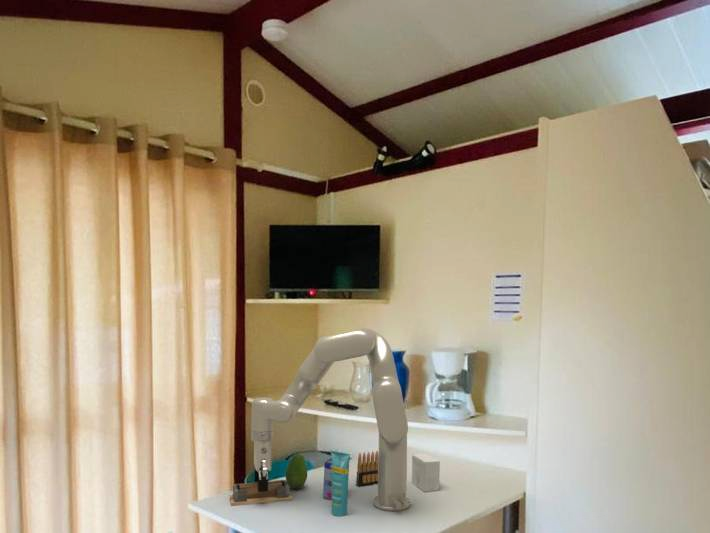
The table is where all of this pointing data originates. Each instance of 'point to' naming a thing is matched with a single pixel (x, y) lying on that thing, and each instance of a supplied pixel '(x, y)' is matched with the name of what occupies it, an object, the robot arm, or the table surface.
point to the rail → (241, 498)
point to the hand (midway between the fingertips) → (261, 486)
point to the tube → (339, 482)
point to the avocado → (296, 472)
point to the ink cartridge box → (327, 480)
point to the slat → (253, 492)
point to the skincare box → (425, 472)
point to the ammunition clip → (367, 470)
